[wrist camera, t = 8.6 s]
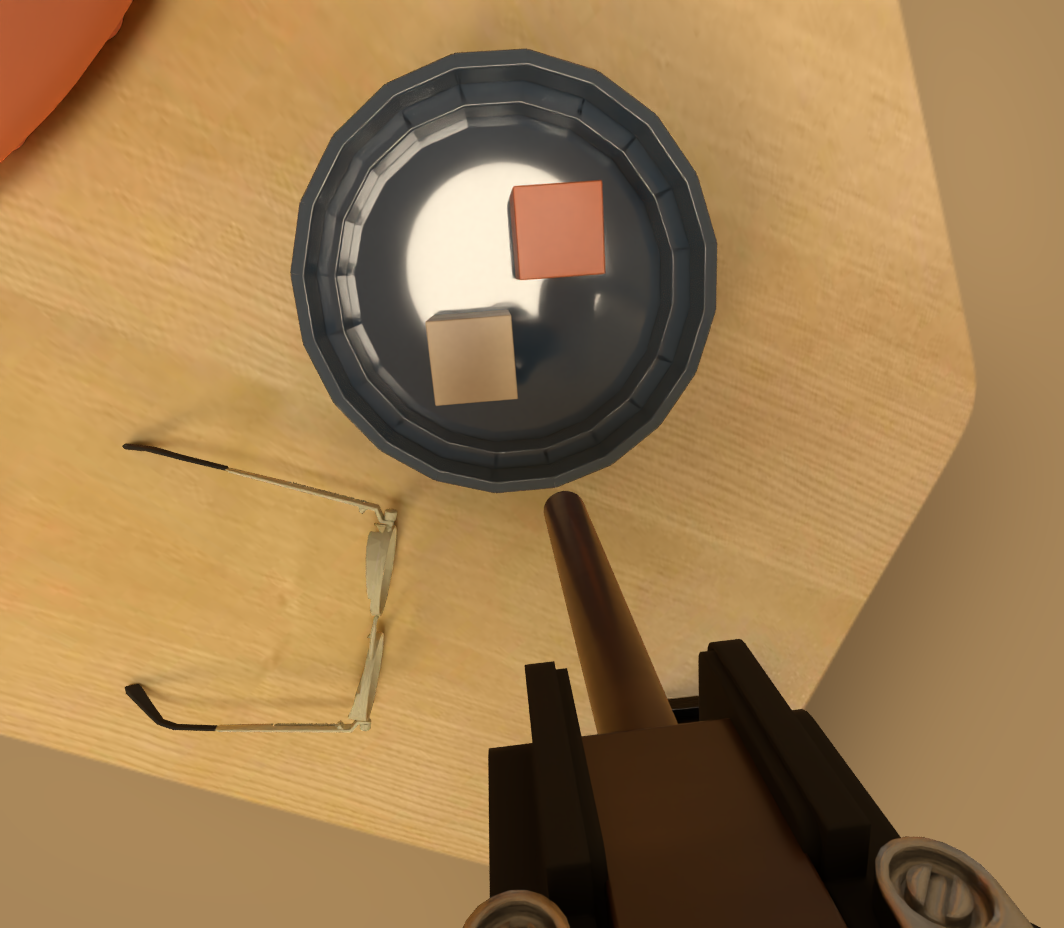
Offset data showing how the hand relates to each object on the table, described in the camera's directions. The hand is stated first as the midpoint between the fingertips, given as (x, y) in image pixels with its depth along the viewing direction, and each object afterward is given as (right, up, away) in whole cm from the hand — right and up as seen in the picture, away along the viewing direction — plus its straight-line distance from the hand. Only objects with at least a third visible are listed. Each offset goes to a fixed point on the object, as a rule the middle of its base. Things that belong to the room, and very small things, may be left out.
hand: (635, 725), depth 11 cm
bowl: (-3, +14, +22) cm, 26 cm away
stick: (-1, +3, +10) cm, 11 cm away
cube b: (-5, +11, +22) cm, 25 cm away
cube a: (-1, +16, +21) cm, 27 cm away
